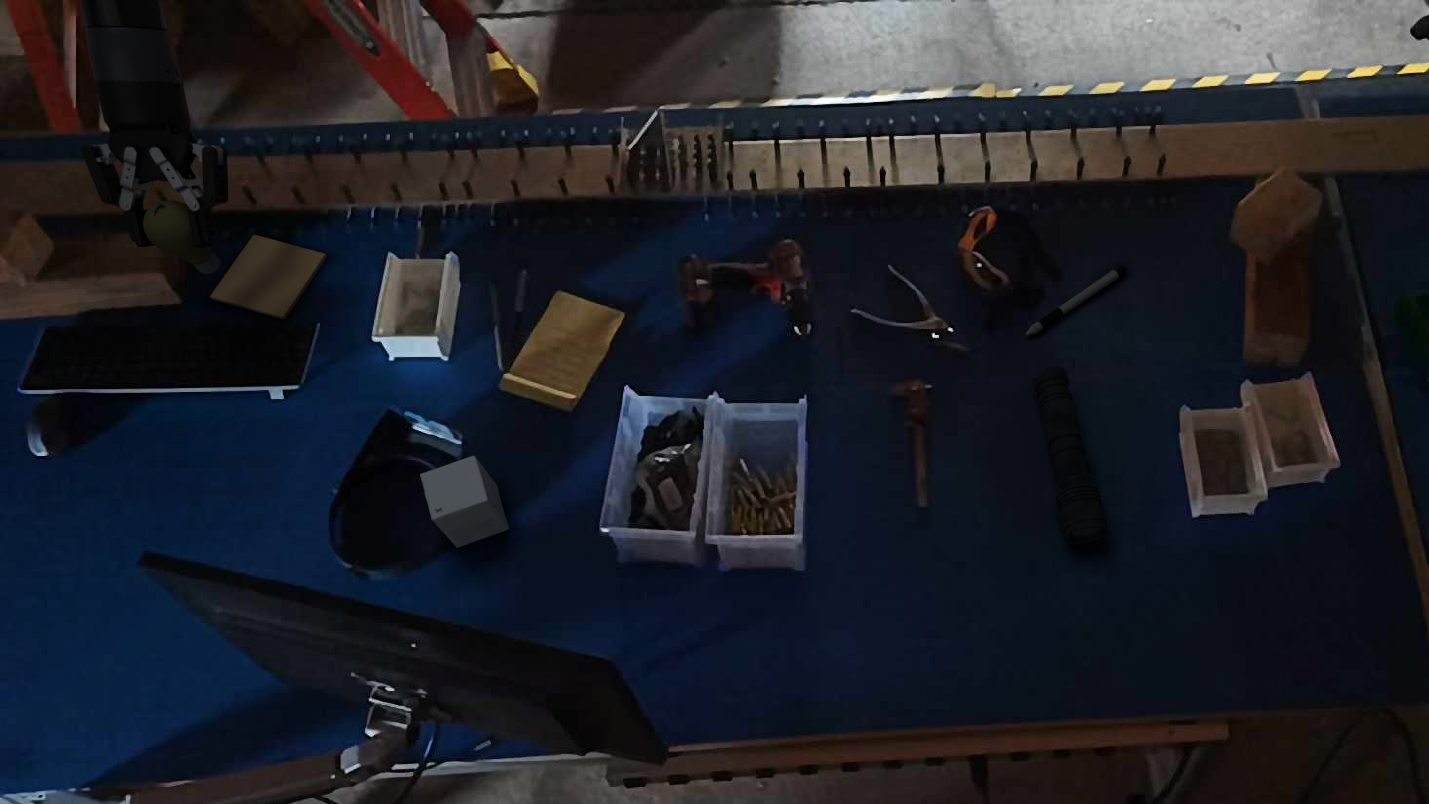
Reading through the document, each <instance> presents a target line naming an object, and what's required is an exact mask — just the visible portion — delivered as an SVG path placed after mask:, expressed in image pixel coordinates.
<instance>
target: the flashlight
mask: <svg viewBox="0 0 1429 804" xmlns="http://www.w3.org/2000/svg"><path fill="white" fill-rule="evenodd" d="M1069 379H1070V378H1069V374H1068V372H1067V369H1065V368H1064V367H1062V366H1058V365H1057V366H1050V367H1047V368H1045V370H1043V371H1042V372H1041V373H1040V374H1038V375H1037V376H1036V377H1035V378H1032V384H1033V388H1034V391H1035V392H1036V393H1037V394H1038V404H1039V407H1040V415H1041V420H1042V425H1043V429H1044V434H1045V438H1046V443H1047V447H1048V448H1049V449H1050V452H1049V454H1050V459H1051V462H1052V465H1053V469H1054V474H1055V478H1056V495H1055V502H1056V506H1057V513H1058V516H1059V521H1060V525H1061V530H1062V534H1063V536H1064V538H1065V541H1066V542H1067V543H1068V544H1071V545H1076V546H1077V545H1078V546H1079V545H1087V544H1091V543H1092V542H1093V541H1095V542H1098V541H1099V540H1101V539H1103V538H1105V537H1106V536H1107V535H1108V533H1109V532H1108V521H1107V518H1106V514H1105V510H1104V506H1103V501H1102V498H1101V493H1100V490H1099V488H1098V486H1097V485H1096V484H1095V482H1094V480H1093V477H1092V475H1091V467H1090V464H1089V463H1087V461H1086V456H1085V455H1086V449H1085V447H1084V444H1083V443H1082V441H1083V436H1082V431H1081V428H1080V425H1079V420H1078V416H1077V412H1076V408H1075V405H1074V402H1073V397H1072V394H1071V391H1070V389H1069V386H1070V380H1069Z"/></svg>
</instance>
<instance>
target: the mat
mask: <svg viewBox="0 0 1429 804" xmlns="http://www.w3.org/2000/svg"><path fill="white" fill-rule="evenodd" d="M327 258H328V256H327V254H326V253H324V252H320V251H317V250H313V249H309V248H304V247H301V246H298V245H294V244H290V243H287V242H283V241H279V240H275V239H272V238H268V237H264V236H261V235H257V234H253V235H251V237H250V239H249V240H248V242H247V243H246V244H245V246H244V248H243V249H242V250H241V251H240V253H239V255H238V256H237V257H236V259H235V260H234V261H233V263H232V265H231V266H230V267H229V268H228V270H227V271H226V272H225V274H224V275H223V277H222V278H221V280H220V282H219V283H218V284H217V285H216V287H215V289H214V290H213V291H212V293H211V294H210V296H209V298H210V300H212V301H216V302H218V303H219V302H220V303H223V304H226V305H230V306H233V307H238V308H241V309H244V310H249V311H251V312H255V313H259V314H263V315H266V316H270V317H273V318H276V319H280V320H284V321H286V320H287V318H288V317H289V316H290V314H291V312H292V311H293V309H294V308H295V307H296V305H297V303H298V302H299V300H300V299H301V297H302V295H304V293H305V291H306V290H307V288H308V287H309V285H310V283H311V282H312V280H313V279H314V277H315V276H316V274H318V272H319V271H320V269H321V267H322V266H323V264H324V262H325V261H326V260H327Z"/></svg>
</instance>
